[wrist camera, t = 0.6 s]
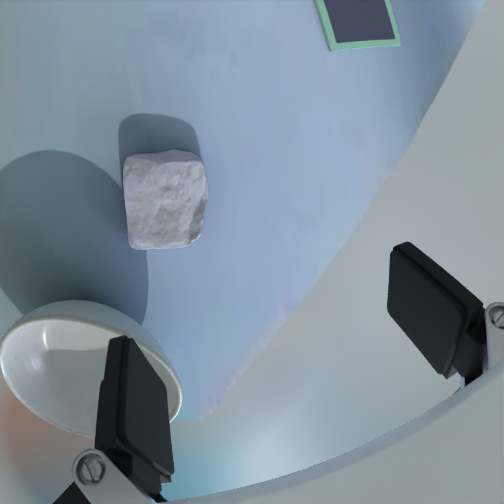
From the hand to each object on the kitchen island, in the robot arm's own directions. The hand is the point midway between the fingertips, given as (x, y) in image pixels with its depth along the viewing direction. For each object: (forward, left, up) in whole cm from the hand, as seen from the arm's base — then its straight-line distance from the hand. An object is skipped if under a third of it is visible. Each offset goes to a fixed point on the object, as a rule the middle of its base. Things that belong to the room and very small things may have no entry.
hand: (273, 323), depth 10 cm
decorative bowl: (+19, -26, -30) cm, 44 cm away
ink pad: (-16, +25, -30) cm, 42 cm away
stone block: (+3, -6, -30) cm, 31 cm away
